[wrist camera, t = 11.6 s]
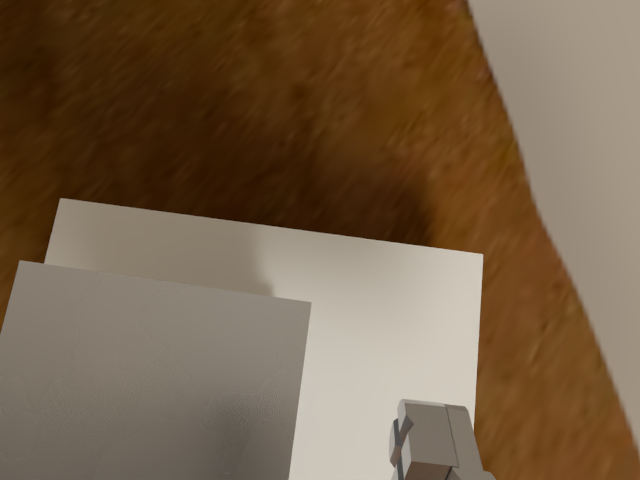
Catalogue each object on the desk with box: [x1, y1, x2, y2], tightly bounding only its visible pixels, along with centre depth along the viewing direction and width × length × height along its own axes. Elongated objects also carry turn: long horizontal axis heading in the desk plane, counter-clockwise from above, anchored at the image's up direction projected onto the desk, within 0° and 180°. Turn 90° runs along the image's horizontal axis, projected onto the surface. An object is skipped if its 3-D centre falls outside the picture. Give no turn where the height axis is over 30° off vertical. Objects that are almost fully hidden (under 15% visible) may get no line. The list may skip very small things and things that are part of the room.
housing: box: [0, 260, 312, 480], centre depth 13 cm, size 6×6×8 cm
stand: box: [44, 198, 483, 480], centre depth 19 cm, size 16×12×4 cm
